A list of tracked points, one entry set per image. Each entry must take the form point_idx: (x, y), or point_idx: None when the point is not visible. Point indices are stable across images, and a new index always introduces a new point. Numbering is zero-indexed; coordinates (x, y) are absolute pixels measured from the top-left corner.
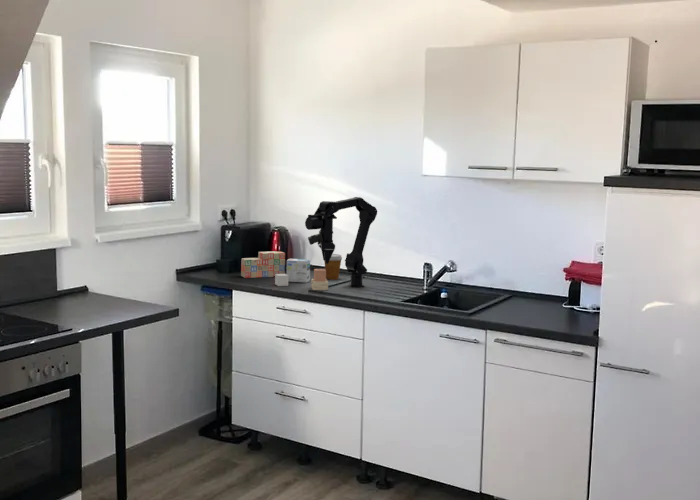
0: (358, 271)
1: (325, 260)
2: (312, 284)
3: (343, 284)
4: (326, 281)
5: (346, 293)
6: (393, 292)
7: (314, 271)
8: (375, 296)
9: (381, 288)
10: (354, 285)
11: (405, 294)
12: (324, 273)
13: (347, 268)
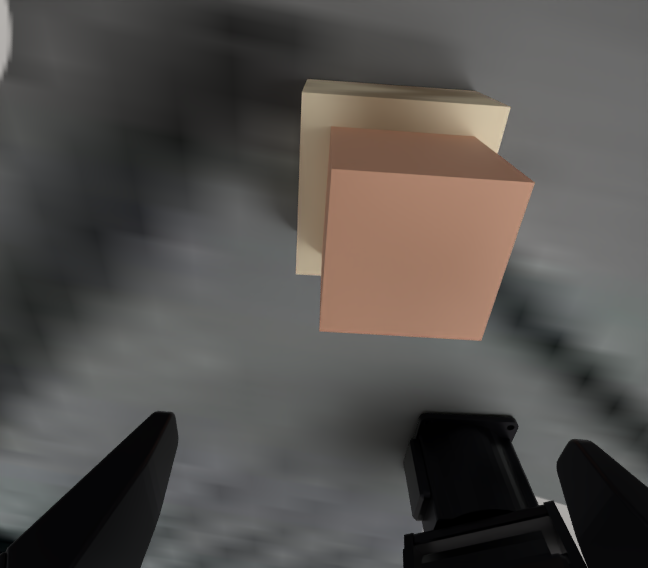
0: (405, 560)
1: (105, 460)
2: (370, 90)
3: (533, 387)
4: (303, 258)
5: (157, 338)
6: (223, 540)
7: (453, 166)
8: (83, 460)
9: (342, 523)
10: (418, 436)
11: (173, 563)
12: (321, 288)
13: (536, 532)
